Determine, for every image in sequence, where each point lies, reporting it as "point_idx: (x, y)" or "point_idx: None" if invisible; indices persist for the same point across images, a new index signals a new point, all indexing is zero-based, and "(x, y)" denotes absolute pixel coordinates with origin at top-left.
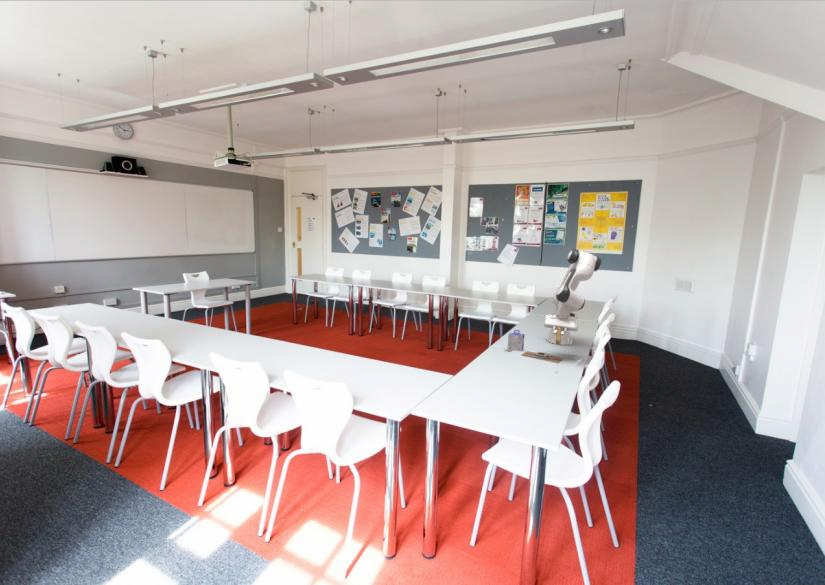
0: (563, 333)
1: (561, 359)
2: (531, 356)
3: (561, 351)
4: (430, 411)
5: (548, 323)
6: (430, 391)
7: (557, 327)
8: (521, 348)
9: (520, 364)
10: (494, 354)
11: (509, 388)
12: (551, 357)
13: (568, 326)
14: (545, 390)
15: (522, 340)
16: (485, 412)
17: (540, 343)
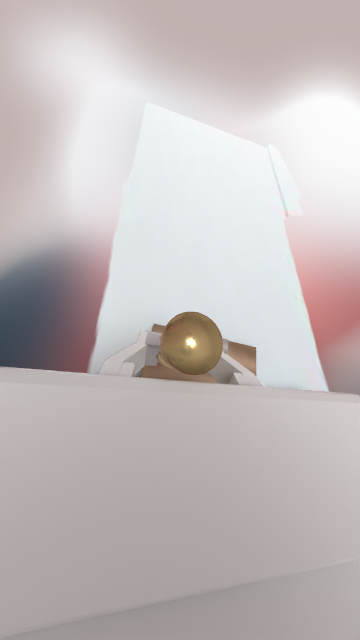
0: (142, 331)
1: (147, 370)
2: (231, 351)
3: None
4: (253, 143)
5: (354, 409)
6: (277, 174)
7: (214, 342)
8: None
9: (234, 294)
10: (302, 340)
11: (214, 190)
12: (179, 375)
13: (46, 384)
14: (167, 190)
15: None
16: (215, 141)
17: None
